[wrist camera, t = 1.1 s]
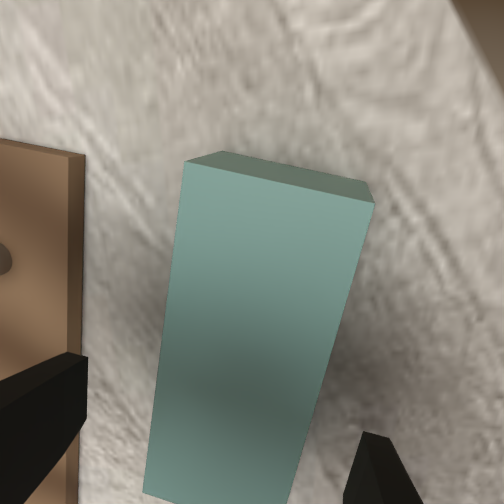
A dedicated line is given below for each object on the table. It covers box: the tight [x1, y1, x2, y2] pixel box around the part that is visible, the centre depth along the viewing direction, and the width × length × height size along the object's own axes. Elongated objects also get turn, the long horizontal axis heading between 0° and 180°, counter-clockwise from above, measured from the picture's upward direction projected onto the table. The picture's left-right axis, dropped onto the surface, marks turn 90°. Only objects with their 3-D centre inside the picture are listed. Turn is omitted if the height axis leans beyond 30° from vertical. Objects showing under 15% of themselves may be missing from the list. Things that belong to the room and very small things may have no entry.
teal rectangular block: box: [142, 151, 375, 504], centre depth 14 cm, size 12×5×4 cm, turn 169°
